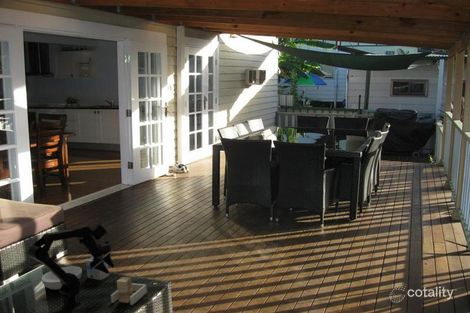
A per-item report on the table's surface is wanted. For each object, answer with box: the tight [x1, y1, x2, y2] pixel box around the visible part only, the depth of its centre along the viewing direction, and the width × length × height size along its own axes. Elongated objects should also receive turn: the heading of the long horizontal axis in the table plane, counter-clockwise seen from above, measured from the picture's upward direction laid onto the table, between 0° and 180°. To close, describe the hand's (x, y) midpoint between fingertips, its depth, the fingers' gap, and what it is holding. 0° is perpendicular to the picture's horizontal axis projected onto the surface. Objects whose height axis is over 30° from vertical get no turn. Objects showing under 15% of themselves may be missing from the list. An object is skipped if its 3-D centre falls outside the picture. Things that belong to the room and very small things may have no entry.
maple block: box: [116, 276, 133, 304], centre depth 232 cm, size 5×5×11 cm
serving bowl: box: [41, 265, 83, 290], centre depth 257 cm, size 21×21×7 cm
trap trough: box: [110, 282, 149, 306], centre depth 235 cm, size 14×12×4 cm
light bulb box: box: [85, 256, 110, 281], centre depth 264 cm, size 11×7×11 cm, turn 62°
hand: (111, 270), depth 240 cm, fingers open, 9 cm apart
